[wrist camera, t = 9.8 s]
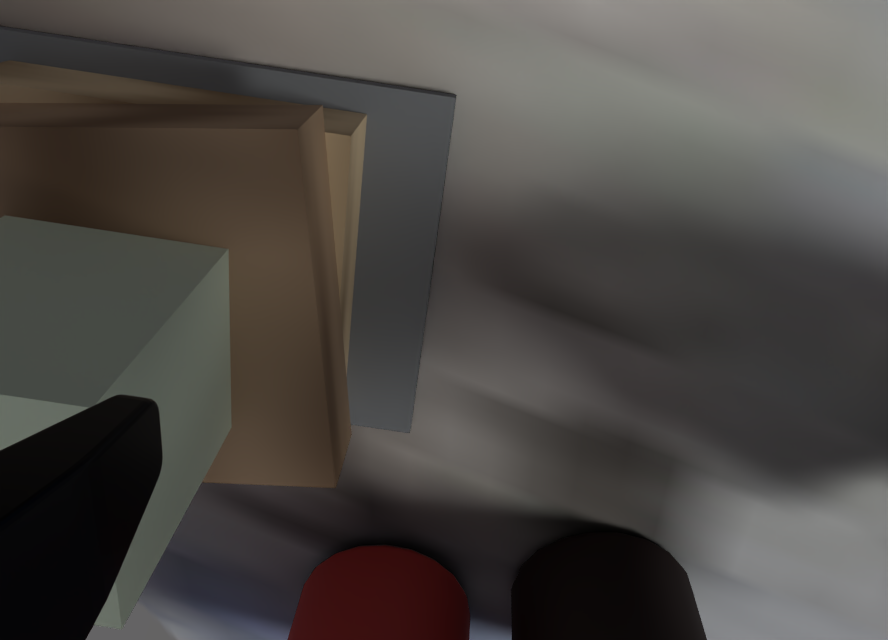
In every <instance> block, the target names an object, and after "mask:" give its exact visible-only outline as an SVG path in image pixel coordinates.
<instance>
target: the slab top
mask: <svg viewBox="0 0 888 640" xmlns="http://www.w3.org/2000/svg"><path fill="white" fill-rule="evenodd" d="M5 215H6V216H13V217H19V218H26V219H33V220H39V221H46V222H53V223H59V224H66V225H73V226H79V227H86V228H93V229H99V230H106V231H112V232H119V233H126V234H132V235H139V236H146V237H152V238H159V239H166V240H172V241H179V242H186V243H192V244H199V245H206V246H212V247H219V248H225V249H229V307H230V365H231V424H232V427H231V429H230V431H229V433H228V435H227V437H226V439H225V440H224V442H223V444H222V446H221V448H220V450H219V452H218V453H217V455H216V457H215V459H214V461H213V463H212V464H211V466H210V468H209V470H208V472H207V474H206V476H205V477H204V479H203V481H202V482H203V483H227V484H251V485H275V486H299V487H322V488H336V486H337V482H338V479H339V475H340V472H341V469H342V465H343V462H344V459H345V455H346V452H347V448H348V445H349V442H350V438H351V435H352V434H351V422H350V411H349V400H348V388H347V377H346V366H345V354H344V343H343V331H342V320H341V309H340V297H339V286H338V275H337V263H336V252H335V241H334V229H333V218H332V207H331V195H330V184H329V172H328V161H327V150H326V138H325V127H324V116H323V105H238V104H93V103H0V218H1V217H3V216H5Z"/></svg>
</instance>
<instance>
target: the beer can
mask: <svg viewBox="0 0 888 640" xmlns="http://www.w3.org/2000/svg"><path fill="white" fill-rule="evenodd" d="M469 629H470V612H469V606H468V600H467V596H466V594H465V592H464V590H463V589H462V587H461V586H460V584H459V583H458V581H457V580H456V578H455V577H454V575H453V574H452V573H450V572H449V571H448V570H447V569H445V568H444V567H443V566H442V565H440V564H439V563H438V562H437V561H435V560H434V559H433V558H430V557H428V556H426V555H423V554H421V553H419V552H417V551H414V550H412V549H408V548H403V547H397V546H392V545H387V544H382V545H361V546H357V547H354V548H351V549H348V550H344V551H341V552H338V553H336V554H334V555H333V556H331V557H330V558H328V559H327V560H325V561H324V562H322V563H321V564H319V565H318V566H317V567H316V568H315V569H314V570H313V572H312V574H311V575H310V577H309V578H308V580H307V581H306V583H305V584H304V587H303V590H302V594H301V597H300V600H299V604H298V607H297V610H296V614H295V617H294V620H293V624H292V627H291V630H290V634H289V637H288V640H469Z"/></svg>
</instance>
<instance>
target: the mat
mask: <svg viewBox="0 0 888 640" xmlns="http://www.w3.org/2000/svg"><path fill="white" fill-rule="evenodd" d="M8 60H11V61H18V62H25V63H31V64H38V65H45V66H51V67H58V68H65V69H71V70H78V71H84V72H91V73H98V74H104V75H111V76H118V77H124V78H131V79H138V80H144V81H151V82H157V83H164V84H171V85H177V86H184V87H191V88H197V89H204V90H211V91H217V92H224V93H230V94H237V95H244V96H250V97H257V98H264V99H270V100H277V101H284V102H290V103H297V104H303V105H323V108H330V109H337V110H343V111H350V112H357V113H363V114H367V122H366V135H365V148H364V161H363V173H362V186H361V199H360V212H359V225H358V237H357V250H356V263H355V276H354V289H353V301H352V314H351V327H350V340H349V352H348V365H347V388H348V400H349V411H350V422H351V425H358V426H364V427H371V428H378V429H384V430H391V431H398V432H405V433H410V429H411V422H412V415H413V408H414V400H415V393H416V386H417V379H418V371H419V364H420V357H421V349H422V342H423V335H424V328H425V320H426V313H427V306H428V298H429V291H430V284H431V277H432V269H433V262H434V255H435V247H436V240H437V233H438V226H439V218H440V211H441V204H442V196H443V189H444V182H445V174H446V167H447V160H448V153H449V145H450V138H451V131H452V123H453V116H454V109H455V102H456V95H455V94H448V93H441V92H435V91H428V90H422V89H415V88H408V87H402V86H395V85H388V84H382V83H375V82H368V81H362V80H355V79H349V78H342V77H335V76H329V75H322V74H315V73H309V72H302V71H296V70H289V69H282V68H276V67H269V66H262V65H256V64H249V63H243V62H236V61H229V60H223V59H216V58H209V57H203V56H196V55H190V54H183V53H176V52H170V51H163V50H156V49H150V48H143V47H137V46H130V45H123V44H117V43H110V42H103V41H97V40H90V39H83V38H77V37H70V36H64V35H57V34H50V33H44V32H37V31H30V30H24V29H17V28H11V27H4V26H0V63H1V62H4V61H8Z"/></svg>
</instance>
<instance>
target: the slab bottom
mask: <svg viewBox="0 0 888 640" xmlns="http://www.w3.org/2000/svg"><path fill="white" fill-rule="evenodd" d="M0 103H93V104H238V105H303V104H297V103H290V102H284V101H277V100H270V99H264V98H257V97H250V96H244V95H237V94H230V93H224V92H217V91H211V90H204V89H197V88H191V87H184V86H177V85H171V84H164V83H157V82H151V81H144V80H138V79H131V78H124V77H118V76H111V75H104V74H98V73H91V72H84V71H78V70H71V69H65V68H58V67H51V66H45V65H38V64H31V63H25V62H18V61H11V60H8V61H4V62H1V63H0ZM323 116H324V127H325V138H326V150H327V161H328V172H329V184H330V195H331V207H332V218H333V229H334V241H335V252H336V263H337V275H338V286H339V297H340V309H341V320H342V331H343V343H344V354H345V366H346V377H347V365H348V352H349V340H350V327H351V314H352V301H353V289H354V276H355V263H356V250H357V237H358V225H359V212H360V199H361V186H362V173H363V161H364V148H365V135H366V122H367V114H363V113H357V112H350V111H343V110H337V109H330V108H323Z"/></svg>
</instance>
